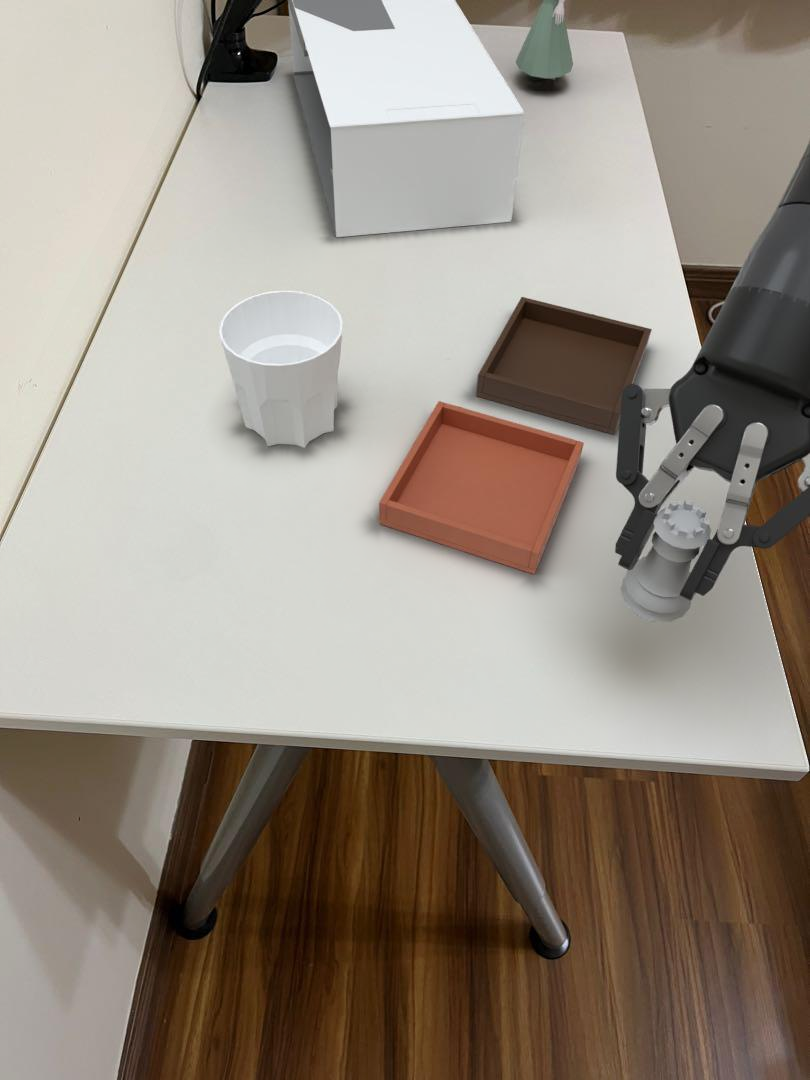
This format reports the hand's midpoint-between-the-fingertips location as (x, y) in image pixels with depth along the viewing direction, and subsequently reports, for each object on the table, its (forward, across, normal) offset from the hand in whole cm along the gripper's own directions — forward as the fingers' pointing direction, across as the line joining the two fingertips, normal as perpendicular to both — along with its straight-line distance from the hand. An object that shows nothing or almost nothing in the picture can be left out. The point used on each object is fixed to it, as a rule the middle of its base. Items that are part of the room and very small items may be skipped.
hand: (656, 581), depth 50 cm
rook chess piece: (+2, 0, +4) cm, 5 cm away
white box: (-32, -60, +49) cm, 84 cm away
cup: (+3, -36, +14) cm, 39 cm away
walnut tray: (-11, -19, +28) cm, 36 cm away
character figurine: (-52, -53, +69) cm, 101 cm away
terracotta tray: (+1, -17, +16) cm, 23 cm away
